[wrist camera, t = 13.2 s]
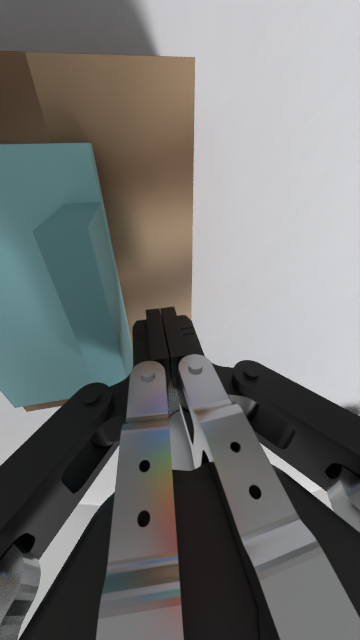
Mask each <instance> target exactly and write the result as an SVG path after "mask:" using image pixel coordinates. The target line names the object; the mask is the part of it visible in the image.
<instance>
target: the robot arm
mask: <svg viewBox="0 0 360 640" xmlns="http://www.w3.org/2000/svg"><path fill="white" fill-rule="evenodd" d="M160 313H161V314H160ZM132 335H133V369H132V371H131V373H130V374H129V376H128V377H127V378H125V379H124V380H123V381H121V382H119V383H117V384H114V385H112V386H110V387H109V386H108V385H106V384H104V383H100V382H95V383H90V384H87V385H85V386H83V387H82V388H80V389H79V390H78V391H77V392H76V393H75V394H74V395H73V396H72V397H71V398H70V399H69V400H68V401H67V402H66V403H65V404H64V405H63V406H62V407H61V408H60V409H58V410H57V411H56V412H55V413H54V414H53V415H52V416H51V417H50V418H49V419H48V420H47V421H46V422H45V423H44V424H43V425H42V426H41V427H40V428H39V429H38V430H37V431H36V432H35V433H34V434H33V435H32V436H31V437H30V438H29V439H28V440H27V441H26V442H25V443H24V444H23V445H21V446H20V447H19V448H18V449H17V450H16V451H15V452H14V453H13V454H12V455H11V456H10V457H9V458H8V459H7V460H6V461H5V462H4V463H3V464H2V465H1V466H0V640H17V638H18V634H19V631H20V628H21V624H22V622H23V620H24V618H25V615H26V613H27V612H28V610H29V608H30V606H31V604H32V602H33V600H34V598H35V596H36V593H37V590H38V587H39V581H40V575H41V571H40V564H39V561H38V560H39V559H40V557H41V556H42V554H43V553H44V552H45V550H46V549H47V547H48V546H49V544H50V543H51V541H52V540H53V539H54V537H55V536H56V534H57V533H58V532H59V530H60V529H61V527H62V526H63V524H64V523H65V522H66V520H67V519H68V517H69V516H70V514H71V513H72V512H73V510H74V509H75V507H76V506H77V504H78V503H79V502H80V500H81V499H82V497H83V496H84V494H85V493H86V492H87V490H88V489H89V487H90V486H91V485H92V483H93V482H94V480H95V479H96V477H97V476H98V475H99V473H100V472H101V470H102V469H103V467H104V466H105V465H106V463H107V462H108V460H109V459H110V457H111V456H112V455H113V453H114V452H115V450H116V449H117V447H118V446H119V445H120V447H119V456H118V466H117V476H116V486H115V492H114V493H113V494H112V495H111V496H110V497H109V498H108V499H107V500H106V501H105V502H104V503H103V504H102V505H101V506H100V508H99V509H98V510H97V512H96V513H95V514H94V516H93V517H92V519H91V521H90V522H89V524H88V525H87V527H86V529H85V530H84V532H83V534H82V535H81V537H80V539H79V540H78V542H77V544H76V546H75V547H74V549H73V550H72V552H71V554H70V555H69V557H68V559H67V560H66V562H65V564H64V566H63V567H62V569H61V570H60V572H59V574H58V575H57V577H56V579H55V580H54V582H53V584H52V585H51V587H50V589H49V590H48V592H47V594H46V595H45V597H44V599H43V600H42V602H41V603H40V605H39V607H38V608H37V610H36V612H35V613H34V615H33V617H32V619H31V620H30V622H29V624H28V625H27V627H26V629H25V630H24V632H23V633H22V635H21V637H20V638H19V640H360V417H359V416H357V415H356V414H354V413H352V412H350V411H348V410H346V409H344V408H342V407H341V406H339V405H337V404H335V403H333V402H331V401H329V400H327V399H325V398H324V397H322V396H320V395H318V394H316V393H314V392H312V391H310V390H309V389H307V388H305V387H303V386H301V385H299V384H297V383H295V382H293V381H292V380H290V379H288V378H286V377H284V376H282V375H280V374H278V373H277V372H275V371H273V370H271V369H269V368H267V367H265V366H263V365H261V364H260V363H257V362H255V361H251V360H244V361H240V362H238V363H237V364H236V365H235V366H234V368H230V367H222V366H218V365H215V364H213V363H211V362H210V360H209V359H208V358H206V357H205V356H204V353H203V351H202V348H201V345H200V342H199V340H198V337H197V334H196V332H195V329H194V326H193V324H192V321H191V320H190V319H189V318H188V317H187V316H186V315H179V316H177V314H176V311H175V307H165V308H160V309H159V308H157V309H148V310H146V319H145V320H137V321H136V322H135V324H134V325H133V327H132ZM171 387H172V392H178V396H179V407H180V411H178V412H176V413H174V414H173V415H172V416H171V417H170V418H169V415H168V409H169V395H168V393H171ZM260 443H261V444H262V445H264V446H265V447H267V448H268V449H269V450H271V451H272V452H273V453H275V454H276V455H277V456H279V457H280V458H282V459H283V460H284V461H286V462H287V463H288V464H290V465H291V466H293V467H294V468H295V469H297V470H298V471H299V472H301V473H302V474H303V475H305V476H306V477H308V478H309V479H310V480H312V481H313V482H314V483H316V484H317V485H319V486H320V487H321V488H323V489H324V490H325V491H327V493H328V497H329V500H330V502H331V505H332V508H333V511H332V510H331V509H330V508H329V507H327V506H326V505H325V504H324V503H322V502H321V501H320V500H319V499H317V498H316V497H315V496H314V495H312V494H311V493H310V492H309V491H307V490H306V489H305V488H304V487H302V486H301V485H300V484H299V483H297V482H296V481H295V480H294V479H292V478H291V477H290V476H289V475H287V474H286V473H285V472H283V471H282V470H280V469H279V468H277V467H276V466H274V465H272V464H271V463H270V461H269V460H268V458H267V456H266V454H265V452H264V450H263V448H262V446H261V444H260Z"/></svg>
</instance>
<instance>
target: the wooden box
mask: <svg viewBox="0 0 360 640" xmlns="http://www.w3.org/2000/svg"><path fill="white" fill-rule="evenodd" d="M194 90H195V57H169V56H138V55H107V54H77V53H46V52H15V51H0V144H51V143H92V148H93V153H94V158H95V163H96V168H97V173H98V178H99V183H100V188H101V193H102V198H103V203H104V208H105V212H106V217H107V222H108V227H109V232H110V237H111V242H112V247H113V252H114V257H115V262H116V267H117V272H118V277H119V281H120V286H121V291H122V296H123V301H124V306H125V311H126V316H127V321H128V326H129V331H130V336H131V341H132V345H133V335H132V327H133V325H134V324H135V322H136V321H137V320H145V319H146V310H148V309H157V308H159V309H160V308H165V307H175V311H176V314H177V316H179V315H186V316H187V317H188V318H189V319H190V320H191V293H192V225H193V157H194ZM160 314H161V313H160ZM68 400H69V399H65V400H59V401H53V402H46V403H40V404H34V405H28V406H23V407H24V409H25V410H26V411H27V412H28V411H34V410H40V409H46V408H52V407H57V406H63V405H64V404H65V403H66V402H67V401H68Z"/></svg>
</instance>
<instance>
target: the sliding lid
mask: <svg viewBox="0 0 360 640" xmlns="http://www.w3.org/2000/svg"><path fill="white" fill-rule="evenodd" d="M132 369H133V345H132V341H131V336H130V331H129V326H128V321H127V316H126V311H125V306H124V301H123V296H122V291H121V286H120V281H119V277H118V272H117V267H116V262H115V257H114V252H113V247H112V242H111V237H110V232H109V227H108V222H107V217H106V212H105V208H104V203H103V198H102V193H101V188H100V183H99V178H98V173H97V168H96V163H95V158H94V153H93V148H92V143H51V144H0V391H1V392H2V393H3V394H4V395H5V396H6V398H7V399H8V400H9V401H10V402H11V404H12V405H13V406H14V407H15V408H16V407H22V406H28V405H34V404H40V403H46V402H53V401H59V400H65V399H70V398H71V397H72V396H73V395H74V394H75V393H76V392H77V391H78V390H79V389H80V388H82V387H83V386H85V385H87V384H90V383H95V382H100V383H104V384H106V385H108V386H109V387H110V386H112V385H114V384H117V383H119V382H121V381H123V380H124V379H125V378H127V377H128V376H129V374H130V373H131V371H132Z"/></svg>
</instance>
